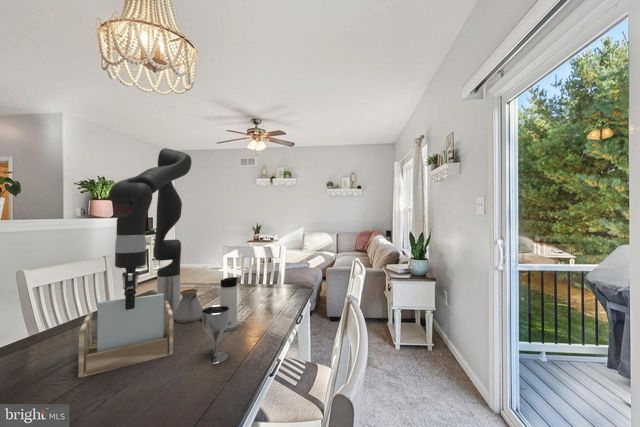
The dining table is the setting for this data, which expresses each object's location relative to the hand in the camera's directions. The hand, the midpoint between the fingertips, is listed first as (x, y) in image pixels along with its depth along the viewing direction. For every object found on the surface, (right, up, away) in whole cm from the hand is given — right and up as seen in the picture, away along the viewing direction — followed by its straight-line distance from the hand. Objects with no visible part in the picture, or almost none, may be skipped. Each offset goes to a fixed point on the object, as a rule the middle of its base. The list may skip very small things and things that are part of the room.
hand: (130, 305), depth 81 cm
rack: (-3, -18, +4) cm, 18 cm away
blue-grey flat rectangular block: (0, -16, 0) cm, 16 cm away
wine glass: (+24, -18, +4) cm, 30 cm away
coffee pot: (+4, -18, +29) cm, 35 cm away
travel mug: (+20, -18, +27) cm, 38 cm away
